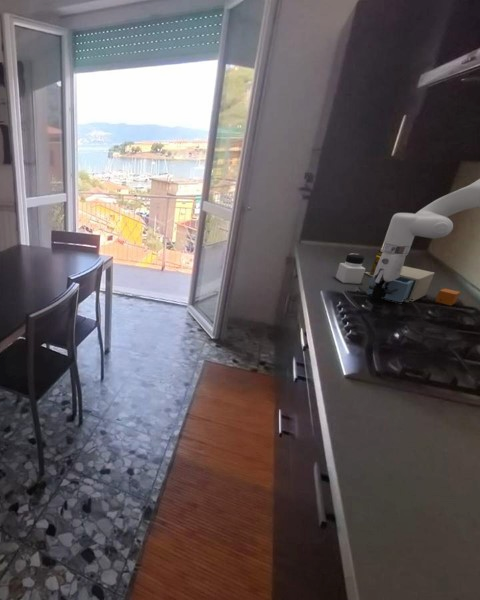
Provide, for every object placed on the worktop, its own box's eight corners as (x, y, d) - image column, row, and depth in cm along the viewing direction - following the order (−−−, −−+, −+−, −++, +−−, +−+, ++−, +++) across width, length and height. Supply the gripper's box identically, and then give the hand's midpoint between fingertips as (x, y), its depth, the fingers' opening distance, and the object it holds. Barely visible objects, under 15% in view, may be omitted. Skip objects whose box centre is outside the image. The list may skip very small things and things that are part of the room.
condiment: (375, 278, 160) (384, 252, 156) (362, 272, 168) (370, 247, 163) (391, 278, 160) (401, 252, 156) (377, 272, 168) (386, 247, 163)
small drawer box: (409, 302, 135) (419, 279, 131) (371, 292, 145) (379, 269, 141) (425, 295, 142) (434, 272, 138) (387, 285, 152) (395, 264, 148)
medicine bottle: (361, 284, 154) (370, 257, 149) (342, 283, 155) (351, 256, 150) (352, 278, 160) (360, 252, 155) (335, 277, 161) (342, 252, 156)
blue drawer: (393, 307, 129) (401, 287, 126) (358, 296, 138) (364, 278, 135) (416, 296, 138) (423, 277, 135) (381, 287, 147) (388, 269, 144)
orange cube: (455, 303, 135) (460, 292, 133) (451, 305, 133) (456, 294, 131) (439, 299, 139) (444, 288, 137) (435, 301, 136) (439, 290, 135)
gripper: (398, 254, 119) (380, 304, 127) (417, 248, 127) (399, 295, 134) (372, 249, 125) (356, 297, 132) (392, 243, 132) (376, 289, 140)
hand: (378, 296), depth 133 cm, fingers closed
